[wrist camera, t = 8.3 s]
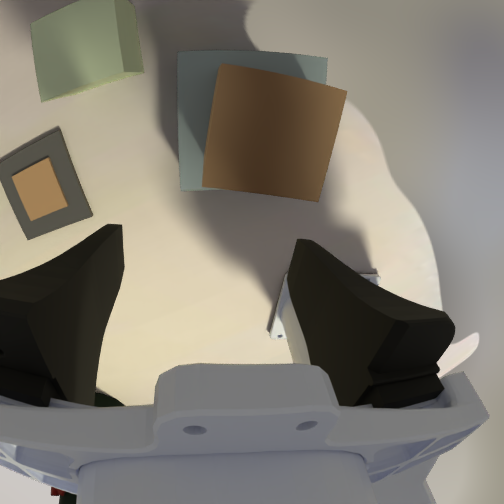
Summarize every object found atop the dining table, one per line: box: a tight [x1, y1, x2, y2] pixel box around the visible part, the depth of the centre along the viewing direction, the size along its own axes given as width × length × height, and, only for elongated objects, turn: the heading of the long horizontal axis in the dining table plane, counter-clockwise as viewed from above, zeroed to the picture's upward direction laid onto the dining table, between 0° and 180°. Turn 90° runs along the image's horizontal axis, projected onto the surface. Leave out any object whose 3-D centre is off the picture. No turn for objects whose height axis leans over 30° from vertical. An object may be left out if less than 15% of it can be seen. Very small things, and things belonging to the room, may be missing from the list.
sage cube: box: [30, 0, 144, 103], centre depth 13 cm, size 5×5×5 cm
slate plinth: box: [177, 50, 328, 191], centre depth 17 cm, size 8×8×4 cm
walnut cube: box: [202, 63, 347, 202], centre depth 13 cm, size 5×5×5 cm
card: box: [0, 130, 93, 240], centre depth 19 cm, size 7×7×1 cm
